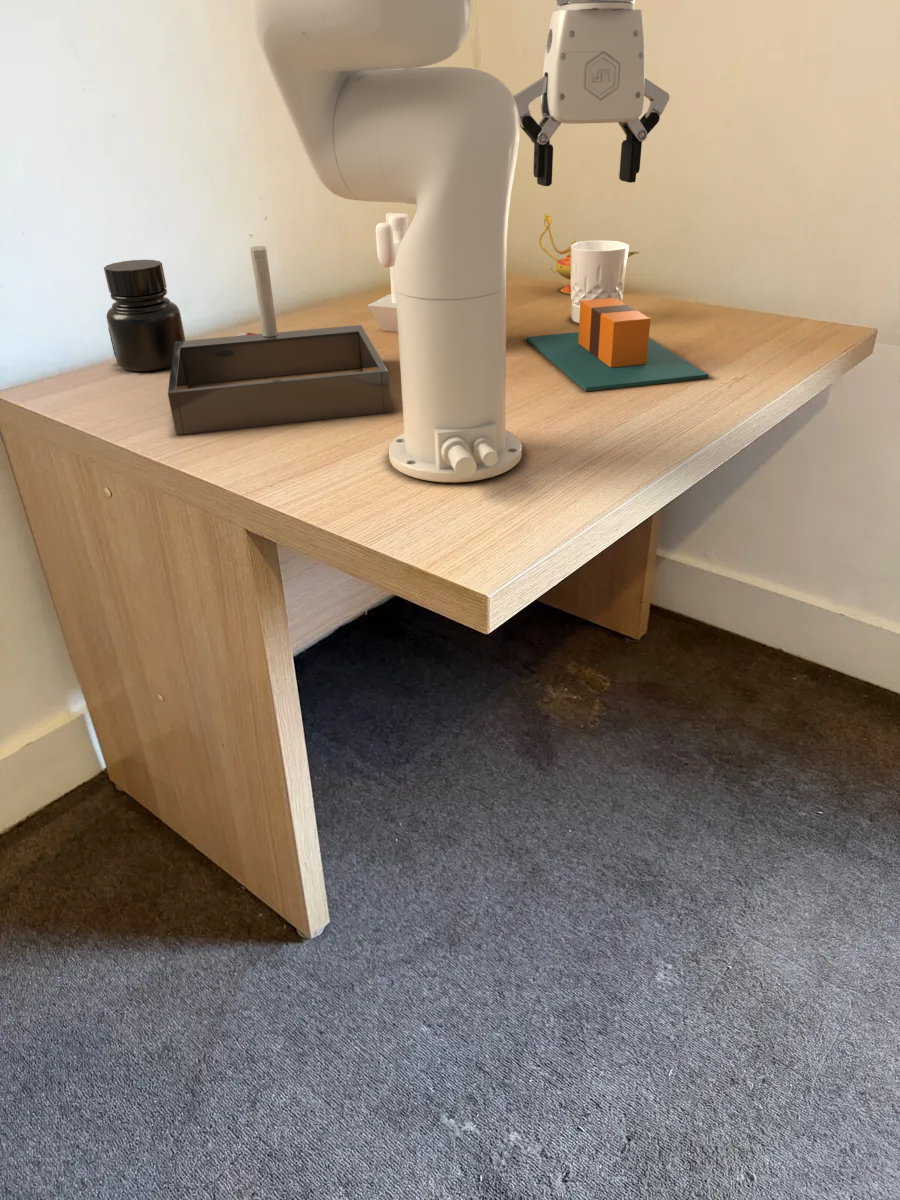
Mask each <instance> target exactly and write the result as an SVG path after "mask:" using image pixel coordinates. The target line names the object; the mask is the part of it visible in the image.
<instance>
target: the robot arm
mask: <svg viewBox="0 0 900 1200" xmlns="http://www.w3.org/2000/svg"><path fill="white" fill-rule="evenodd" d="M555 1H556V6H558V10H555V11H552V14H551V19H550V22H549V23H550V24H549V28H548V34H547V40H546V46H545V52H544V60H543V68H542V69H543V71H542V77H541V78H539V79H538V80H536V81H535V82H533V83H532V84H530V85H529V86H527V87H525V88H523V89H522V90H520V91H519V92H517V93H516V94H515V95H513V93H512V92H511V90H510V89H509V88H508V86H507V85H506V83H504V82H503V81H502V80H501V79H499V78H497V77H496V76H495V75H493V74H491V73H489V72H486V71H483V70H480V69H476V68H471V67H457V66H435V67H434V66H432V65H436V64H438V63H441V62H443V61H445V60H447V59H449V58H450V57H452V56H453V55H454V54H455V53H457V52H458V51H459V49H460V48H461V47H462V45H463V43H464V41H465V40H466V38H467V36H468V33H469V30H470V29H469V28H470V21H471V0H248V4H249V5H248V7H249V13H250V18H251V22H252V25H253V30H254V32H255V36H256V39H257V42H258V45H259V47H260V50H261V52H262V55H263V59H264V60H265V64H266V65H267V67H268V70H269V72H270V75H271V77H272V79H273V82H274V84H275V87H276V89H277V91H278V94H279V96H280V99H281V101H282V104H283V106H284V108H285V111H286V112H287V115H288V117H289V119H290V122H291V124H292V127H293V128H294V131H295V134H296V136H297V138H298V141H299V144H301V147H302V149H303V153H304V154H305V156H306V158H307V160H308V163H309V164H310V167H311V169H312V170H313V172H314V174H315V175H316V177H317V178H318V179H319V181H320V182H321V184H322V185H323V186H324V187H325V188H326V189H327V190H328V191H330V192H331V193H332V194H334V195H335V196H338V197H340V198H343V199H346V200H353V201H360V202H361V201H363V202H373V203H376V202H377V203H398V204H399V203H400V204H407V205H416V206H417V207H416V212H415V214H414V217H413V219H412V221H411V223H410V225H408V230H407V232H406V233H405V235H404V237H403V239H402V241H401V243H400V245H399V248H398V251H397V255H396V259H395V290H396V304H397V321H398V332H397V335H398V350H399V351H398V352H399V353H398V355H399V367H400V368H399V369H400V370H399V371H400V387H401V402H402V403H401V404H402V419H403V432H402V433H401V434H400V435H398V436H396V437H395V438H394V439H393V440H392V441H391V443H390V444H389V446H388V459H389V462H390V464H391V466H392V467H393V468H394V469H396V470H397V471H398V472H400V473H401V474H404V475H406V476H409V477H412V478H415V479H418V480H423V481H429V482H437V483H466V482H475V481H481V480H486V479H489V478H494V477H496V476H499V475H502V474H504V473H506V472H508V471H510V470H512V469H513V468H514V467H515V466H517V465H518V464H519V462H520V461H521V459H522V455H523V446H522V442H521V439H520V438H519V437H517V436H516V434H514V433H513V432H510V431H509V430H507V429H506V411H507V410H506V409H507V408H506V407H507V406H506V404H507V403H506V399H507V398H506V397H507V396H506V395H507V394H506V393H507V386H506V385H507V384H506V383H507V256H508V255H507V250H508V231H509V230H508V227H509V216H510V207H511V205H510V204H511V199H512V191H513V184H514V179H515V172H516V167H517V161H518V156H519V155H518V154H519V149H520V139H521V129H522V130H523V132H524V133H525V134H526V135H527V137H529V140H530V141H531V143H532V144H533V170H532V171H533V177H534V178H536V183H537V185H540V186H542V187H550V186H551V185H552V184H553V162H554V146H553V144H551V141H550V140H551V138H552V137H553V136H554V134H555V133H556V131H557V130H558V129H559V127H560V126H561V124H571V125H572V124H576V125H578V124H579V125H580V124H583V125H584V124H612V123H613V124H614V123H616V124H617V123H618V125H619V127H620V128H621V130H622V131H623V133H624V135H625V139H623V140H622V142H621V149H620V161H619V171H618V173H619V174H618V177H619V181H621V182H625V183H626V182H627V183H629V184H630V183H636V179H637V174H639V173H640V169H641V159H642V157H641V156H642V147H643V146H642V145H643V142H644V141H645V140H646V139H647V138H648V134H650V132H651V131H652V130H653V129H654V128H655V127H656V126H657V125H658V123H659V122H660V117H661V115H662V114H663V112H664V110H665V109H666V106H667V105H668V102H670V101H669V100H670V94H669V93H668V92H667V91H666V90H664V89H662V88H661V87H660V86H658V85H656V84H655V83H653V82H652V81H651V80H649V79H647V78H646V52H645V51H646V50H645V48H646V47H645V29H644V19H643V18H644V17H643V9H635V0H555ZM427 66H429V67H427ZM430 66H431V67H430ZM538 98H540V109H541V116H542V118H541V119H540V121H539V122H538V123H537V121H536V120H535V118H534V117H533V116H532V115H531V111H530V108H529V106H530V104H531V103H532V102H533V101H535V100H536V99H538ZM645 98H646V99H648V100H649V106H648V109H647V111H646V112H645V113H644V114H643V115H642V112H643V109H644V100H645ZM641 115H642V117H641ZM639 117H641V118H640V119H639Z"/></svg>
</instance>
